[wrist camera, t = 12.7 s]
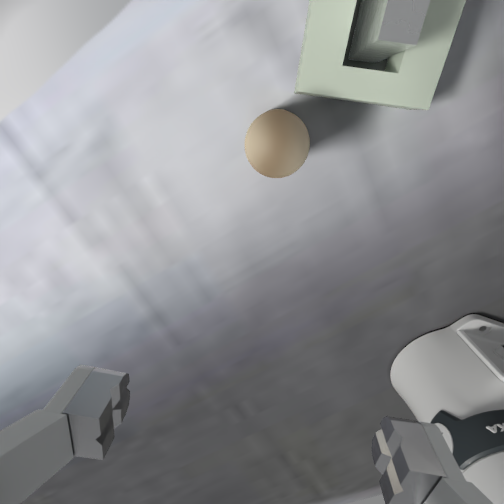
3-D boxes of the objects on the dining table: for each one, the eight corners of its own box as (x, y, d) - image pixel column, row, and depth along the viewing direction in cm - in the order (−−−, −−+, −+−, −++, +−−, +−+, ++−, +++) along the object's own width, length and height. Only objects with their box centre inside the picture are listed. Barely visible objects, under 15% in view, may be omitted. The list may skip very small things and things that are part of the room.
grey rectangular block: (395, -15, 25) (452, -72, 17) (375, 63, 28) (416, 45, 20) (365, -19, 25) (407, -78, 17) (348, 59, 28) (377, 39, 20)
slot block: (463, -60, 24) (497, -90, 20) (409, 109, 29) (428, 109, 25) (322, -79, 24) (331, -112, 20) (294, 93, 29) (296, 91, 26)
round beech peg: (306, 112, 30) (316, 114, 23) (296, 164, 32) (302, 182, 25) (255, 105, 30) (249, 105, 23) (249, 158, 32) (241, 173, 25)
